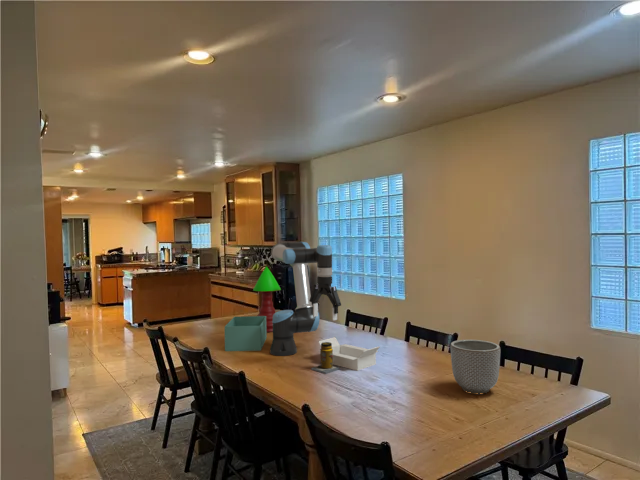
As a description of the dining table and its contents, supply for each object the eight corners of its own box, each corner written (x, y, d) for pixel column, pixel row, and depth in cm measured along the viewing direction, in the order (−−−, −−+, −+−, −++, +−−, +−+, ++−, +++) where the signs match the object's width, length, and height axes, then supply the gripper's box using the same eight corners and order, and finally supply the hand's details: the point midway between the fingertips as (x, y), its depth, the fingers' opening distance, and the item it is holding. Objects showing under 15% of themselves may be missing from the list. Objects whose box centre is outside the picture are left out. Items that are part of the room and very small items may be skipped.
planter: (495, 402, 172) (495, 353, 172) (445, 393, 182) (444, 347, 182) (504, 387, 189) (504, 342, 188) (457, 379, 199) (457, 337, 199)
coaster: (311, 369, 218) (311, 368, 218) (325, 365, 225) (325, 363, 225) (325, 373, 211) (325, 372, 211) (339, 369, 218) (339, 367, 218)
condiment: (336, 368, 217) (336, 343, 217) (322, 371, 213) (321, 346, 213) (327, 364, 224) (327, 340, 223) (313, 367, 219) (313, 343, 219)
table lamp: (257, 326, 325) (256, 265, 325) (284, 326, 322) (283, 265, 322) (250, 332, 306) (248, 267, 305) (278, 332, 303) (276, 266, 302)
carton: (313, 361, 232) (313, 342, 232) (339, 353, 247) (339, 335, 247) (359, 373, 211) (358, 352, 210) (384, 364, 225) (384, 344, 225)
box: (224, 351, 256) (224, 326, 256) (234, 338, 288) (234, 316, 288) (260, 350, 257) (260, 325, 256) (266, 338, 288) (266, 316, 288)
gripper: (302, 274, 229) (302, 315, 229) (337, 278, 211) (337, 323, 211) (313, 273, 234) (313, 313, 235) (348, 277, 216) (348, 320, 217)
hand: (325, 318), depth 223 cm, fingers open, 13 cm apart
